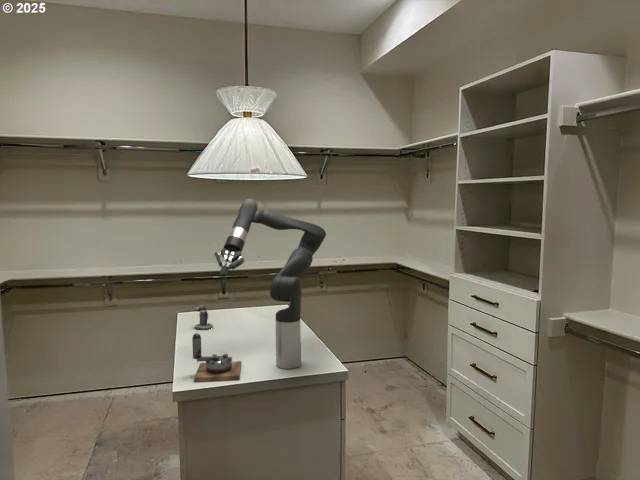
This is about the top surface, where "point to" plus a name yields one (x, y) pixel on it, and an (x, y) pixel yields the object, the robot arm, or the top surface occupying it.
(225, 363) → the grey bent piece
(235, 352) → the top surface
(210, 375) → the walnut cap plate
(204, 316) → the figurine
